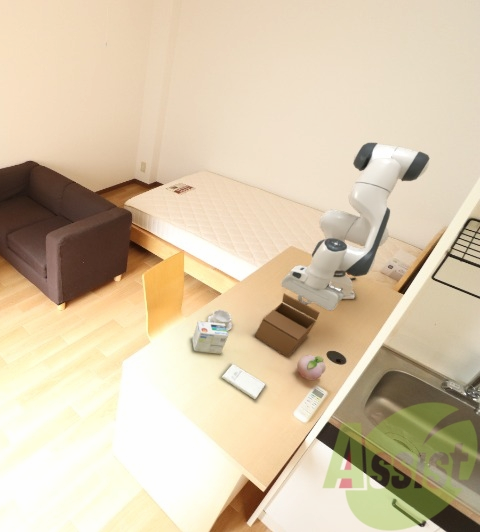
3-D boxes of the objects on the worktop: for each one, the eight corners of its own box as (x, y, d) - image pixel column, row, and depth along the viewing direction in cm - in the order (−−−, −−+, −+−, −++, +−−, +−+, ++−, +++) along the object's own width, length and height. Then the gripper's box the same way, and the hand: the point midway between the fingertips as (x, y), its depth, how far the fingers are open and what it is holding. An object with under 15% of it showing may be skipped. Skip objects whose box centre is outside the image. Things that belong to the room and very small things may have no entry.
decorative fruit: (298, 362, 137) (309, 344, 131) (321, 375, 132) (333, 358, 126) (288, 375, 132) (299, 357, 126) (311, 390, 127) (323, 372, 121)
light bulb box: (217, 341, 144) (225, 322, 137) (221, 354, 138) (229, 335, 132) (191, 338, 144) (197, 320, 138) (193, 351, 139) (200, 332, 133)
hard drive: (254, 400, 123) (221, 378, 129) (264, 386, 127) (231, 365, 134) (256, 397, 122) (223, 375, 128) (265, 383, 126) (233, 362, 133)
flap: (282, 301, 150) (282, 301, 150) (316, 320, 142) (316, 319, 142) (283, 293, 143) (284, 293, 143) (319, 312, 135) (319, 312, 135)
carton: (273, 318, 156) (282, 301, 150) (306, 337, 148) (317, 319, 142) (254, 336, 147) (263, 318, 141) (287, 357, 139) (298, 339, 132)
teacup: (223, 335, 146) (226, 327, 144) (202, 321, 153) (205, 313, 150) (236, 325, 152) (239, 317, 149) (216, 312, 158) (218, 304, 155)
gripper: (349, 289, 130) (331, 316, 138) (293, 263, 142) (280, 289, 151) (343, 296, 127) (325, 323, 135) (286, 268, 139) (273, 295, 147)
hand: (301, 305), depth 143 cm, fingers closed
